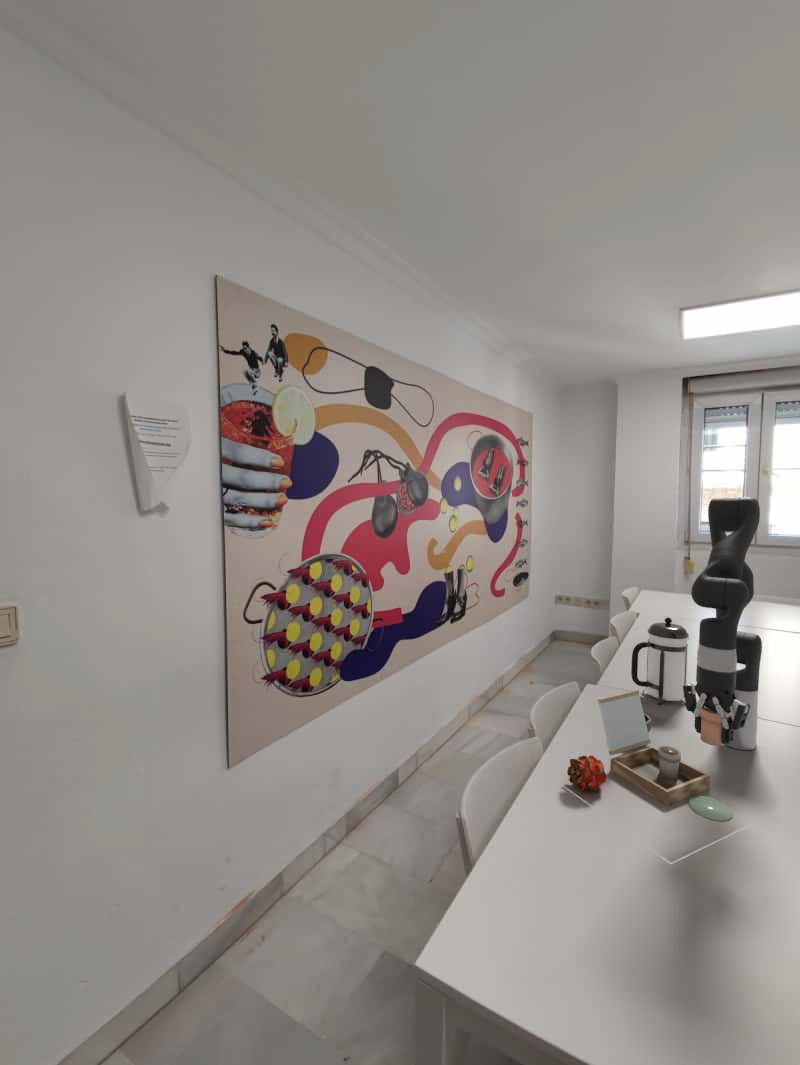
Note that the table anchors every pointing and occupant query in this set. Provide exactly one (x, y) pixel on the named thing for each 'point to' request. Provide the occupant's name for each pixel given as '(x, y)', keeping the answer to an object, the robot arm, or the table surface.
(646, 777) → the box
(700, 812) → the saucer
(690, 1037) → the table surface
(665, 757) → the grey pot
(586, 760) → the dragon fruit
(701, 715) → the terracotta pot
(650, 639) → the coffee press
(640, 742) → the lid
